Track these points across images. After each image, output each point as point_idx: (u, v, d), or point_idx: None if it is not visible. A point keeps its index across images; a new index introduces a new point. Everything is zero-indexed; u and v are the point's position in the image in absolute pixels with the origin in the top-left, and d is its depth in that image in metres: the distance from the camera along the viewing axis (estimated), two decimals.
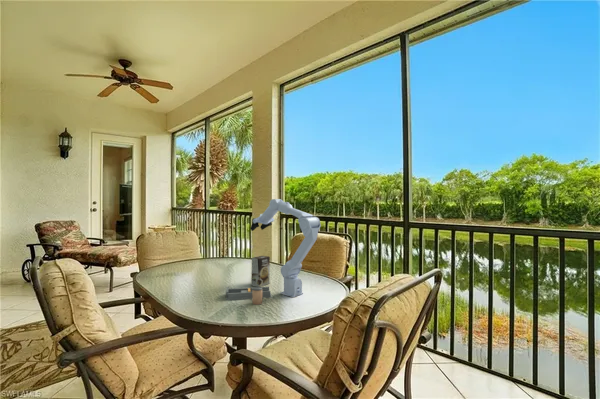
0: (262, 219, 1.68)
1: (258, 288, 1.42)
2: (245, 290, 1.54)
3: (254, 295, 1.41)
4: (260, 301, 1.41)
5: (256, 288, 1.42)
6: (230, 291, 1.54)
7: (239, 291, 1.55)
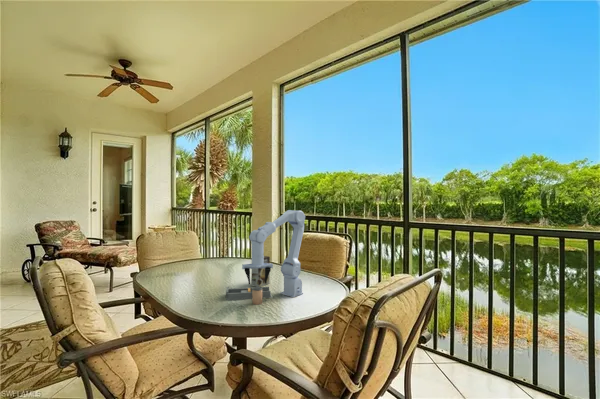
0: None
1: (258, 288, 1.42)
2: (245, 290, 1.54)
3: (254, 295, 1.41)
4: (260, 301, 1.41)
5: (256, 288, 1.42)
6: (230, 291, 1.54)
7: (239, 291, 1.55)
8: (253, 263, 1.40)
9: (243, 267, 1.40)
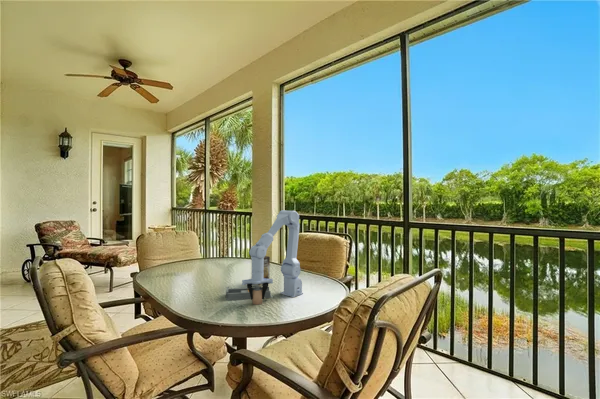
0: None
1: (258, 288, 1.42)
2: (245, 290, 1.54)
3: (254, 295, 1.41)
4: (260, 301, 1.41)
5: (256, 288, 1.42)
6: (230, 291, 1.54)
7: (239, 291, 1.55)
8: (253, 279, 1.40)
9: (243, 283, 1.40)
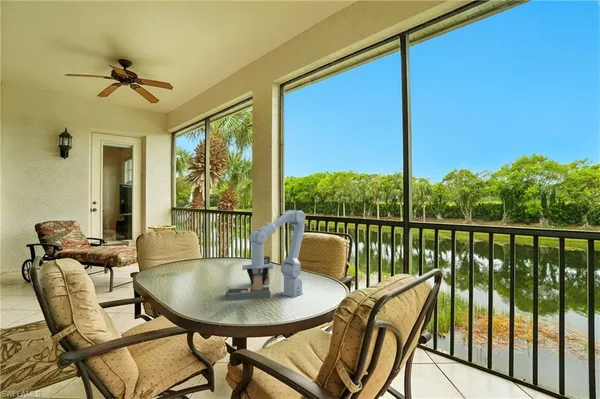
0: None
1: (258, 274, 1.42)
2: (245, 290, 1.54)
3: (254, 281, 1.41)
4: (260, 287, 1.41)
5: (256, 274, 1.42)
6: (230, 291, 1.54)
7: (239, 291, 1.55)
8: (253, 264, 1.41)
9: (243, 268, 1.41)
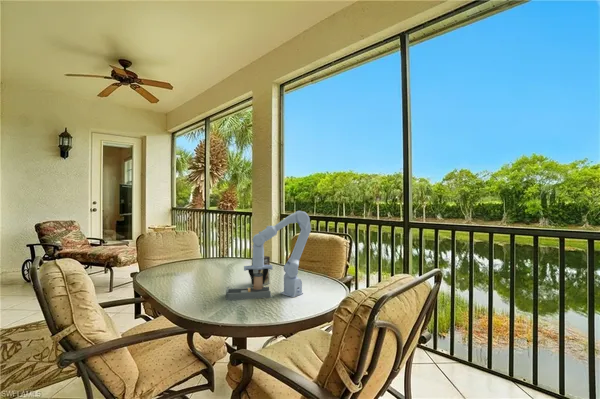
0: None
1: (259, 274, 1.53)
2: (245, 290, 1.54)
3: (255, 281, 1.51)
4: (261, 286, 1.52)
5: (257, 274, 1.53)
6: (230, 291, 1.54)
7: (239, 291, 1.55)
8: (254, 265, 1.51)
9: (245, 268, 1.51)
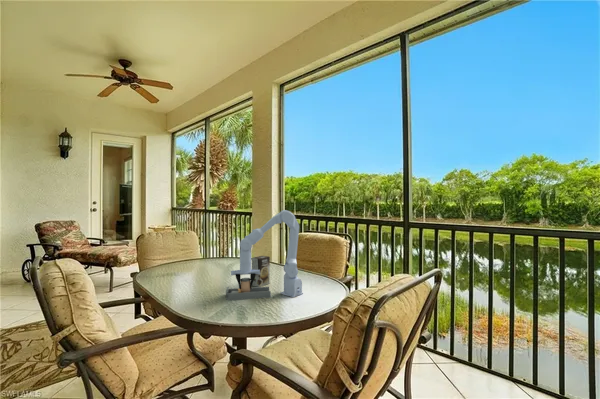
0: None
1: (246, 279, 1.51)
2: (235, 291, 1.53)
3: (242, 286, 1.50)
4: (248, 291, 1.51)
5: (244, 279, 1.51)
6: (230, 291, 1.54)
7: None
8: (241, 270, 1.50)
9: (232, 273, 1.50)
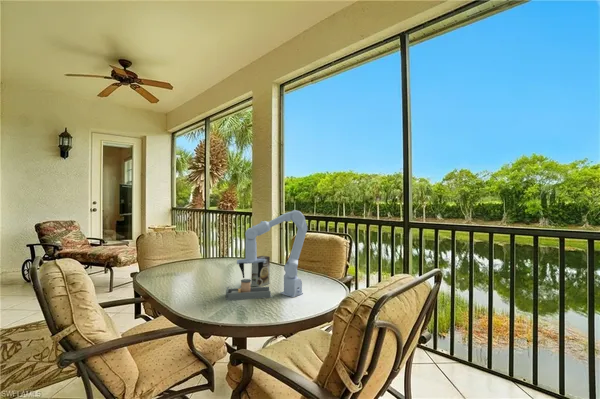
0: None
1: (246, 280, 1.52)
2: (235, 291, 1.53)
3: (242, 287, 1.50)
4: None
5: (244, 280, 1.51)
6: (230, 291, 1.54)
7: None
8: (247, 258, 1.52)
9: (238, 262, 1.52)
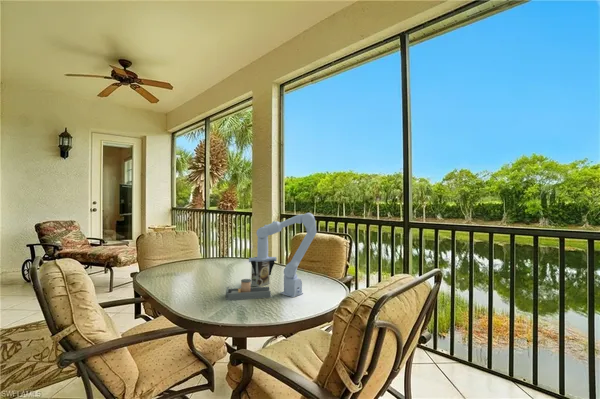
0: None
1: (246, 280, 1.52)
2: (235, 291, 1.53)
3: (242, 286, 1.50)
4: None
5: (245, 280, 1.52)
6: (230, 291, 1.54)
7: None
8: (259, 256, 1.56)
9: (250, 260, 1.56)
